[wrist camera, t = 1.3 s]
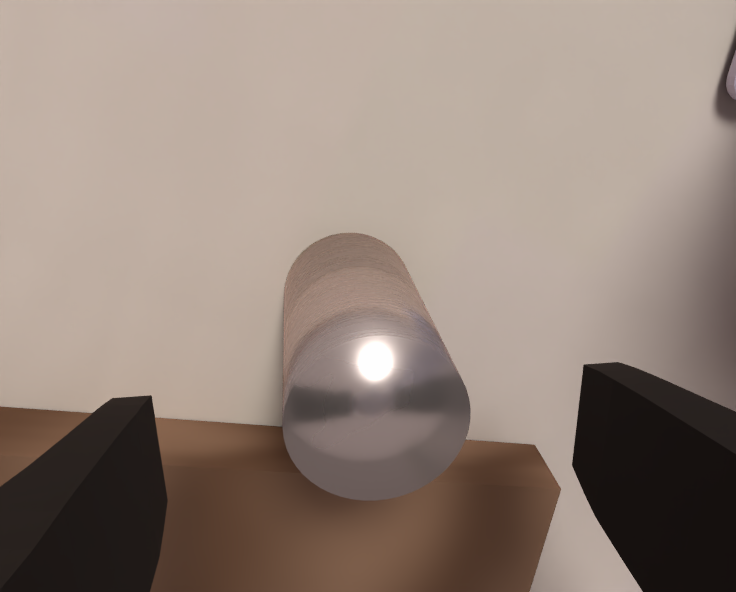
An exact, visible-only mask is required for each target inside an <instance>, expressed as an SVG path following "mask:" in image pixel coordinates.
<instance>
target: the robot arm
mask: <svg viewBox="0 0 736 592" xmlns="http://www.w3.org/2000/svg"><path fill="white" fill-rule="evenodd" d="M726 87H727V91H728V93H729V95H730V96H731V97H732V98H733V99H735V100H736V51H735V54H734V57H733V60H732V63H731V66H730V69H729V72H728V75H727V81H726ZM572 466H573V468H574V471H575V473H576V475H577V478H578V480H579V482H580V485H581V487H582V489H583V492H584V494H585V496H586V498H587V500H588V502H589V504H590V506H591V509H592V511H593V513H594V515H595V517H596V518H597V520H598V522H599V523H600V525H601V527H602V528H603V530H604V531H605V533H606V535H607V536H608V538H609V539H610V541H611V542H612V544H613V546H614V547H615V549H616V550H617V552H618V554H619V555H620V557H621V558H622V560H623V561H624V563H625V565H626V566H627V568H628V569H629V571H630V572H631V574H632V575H633V577H634V579H635V580H636V582H637V583H638V585H639V586H640V588H641V589H642V591H643V592H736V412H735V411H733V410H730V409H728V408H726V407H723V406H721V405H719V404H717V403H714V402H712V401H710V400H708V399H706V398H703V397H701V396H699V395H697V394H694V393H692V392H690V391H688V390H685V389H683V388H681V387H679V386H677V385H674V384H672V383H670V382H668V381H665V380H663V379H661V378H659V377H656V376H654V375H651V374H649V373H647V372H644V371H642V370H639V369H637V368H634V367H631V366H629V365H625V364H622V363H619V362H615V363H601V364H586V365H584V367H583V375H582V384H581V393H580V401H579V410H578V419H577V428H576V436H575V445H574V454H573V462H572ZM167 503H168V499H167V492H166V486H165V479H164V473H163V467H162V460H161V454H160V447H159V441H158V435H157V428H156V422H155V415H154V409H153V402H152V396H138V397H124V398H112V399H111V400H109V401H108V402H106V403H105V404H104V405H102V406H101V407H100V408H98V409H97V410H96V411H95V412H93V413H92V414H91V415H90V416H89V417H87V418H86V419H85V420H84V421H83V422H81V423H80V424H79V425H78V426H76V427H75V428H74V429H73V430H72V431H70V432H69V433H68V434H67V435H66V436H64V437H63V438H62V439H61V440H60V441H58V442H57V443H56V444H55V445H53V446H52V447H51V448H50V449H48V450H47V451H46V452H45V453H44V454H42V455H41V456H40V457H39V458H37V459H36V460H35V461H34V462H32V463H31V464H30V465H29V466H27V467H26V468H25V469H23V470H22V471H21V472H19V473H18V474H17V475H15V476H14V477H13V478H11V479H10V480H8V481H7V482H6V483H4V484H3V485H2V486H0V592H150V590H151V586H152V583H153V579H154V575H155V572H156V568H157V565H158V561H159V557H160V551H161V545H162V538H163V532H164V525H165V517H166V510H167Z"/></svg>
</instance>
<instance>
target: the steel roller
mask: <svg viewBox="0 0 736 592" xmlns="http://www.w3.org/2000/svg"><path fill="white" fill-rule="evenodd" d="M469 424H470V402H469V397H468V394H467V390H466V387H465V385H464V383H463V381H462V379H461V377H460V375H459V373H458V371H457V369H456V367H455V365H454V363H453V361H452V359H451V357H450V355H449V353H448V351H447V349H446V347H445V345H444V343H443V341H442V339H441V337H440V335H439V333H438V331H437V329H436V327H435V325H434V323H433V321H432V319H431V317H430V315H429V313H428V311H427V309H426V307H425V304H424V302H423V300H422V298H421V296H420V294H419V292H418V290H417V288H416V286H415V284H414V282H413V280H412V278H411V276H410V274H409V272H408V270H407V268H406V266H405V264H404V263H403V261H402V259H401V258H400V256H399V255H398V254H397V253H396V252H395V251H394V250H393V249H392V248H391V247H390V246H388V245H387V244H385V243H384V242H382V241H381V240H378V239H376V238H374V237H371V236H368V235H364V234H359V233H340V234H335V235H331V236H328V237H325V238H323V239H320V240H318V241H316V242H315V243H313V244H312V245H310V246H309V247H308V248H306V249H305V250H304V251H303V252H302V253H301V254H300V255H299V256H298V257H297V259H296V260H295V262H294V263H293V265H292V267H291V269H290V271H289V273H288V276H287V279H286V283H285V292H284V356H283V425H282V427H283V437H284V441H285V445H286V448H287V451H288V453H289V455H290V458H291V459H292V461H293V462H294V464H295V466H296V467H297V468H298V469H299V471H300V472H301V473H302V474H303V475H304V476H305V477H306V478H307V479H308V480H310V481H311V482H312V483H314V484H315V485H317V486H318V487H320V488H321V489H323V490H325V491H327V492H329V493H332V494H335V495H337V496H340V497H344V498H349V499H354V500H363V501H376V500H385V499H391V498H395V497H399V496H402V495H405V494H408V493H411V492H413V491H415V490H418V489H420V488H422V487H423V486H425V485H427V484H428V483H430V482H431V481H433V480H434V479H435V478H437V477H438V476H439V475H440V474H441V473H443V472H444V471H445V470H446V469H447V468H448V467H449V465H450V464H451V463H452V462H453V461H454V459H455V458H456V456H457V455H458V453H459V452H460V450H461V448H462V446H463V444H464V442H465V439H466V436H467V433H468V430H469Z"/></svg>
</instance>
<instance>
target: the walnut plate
mask: <svg viewBox="0 0 736 592" xmlns="http://www.w3.org/2000/svg"><path fill="white" fill-rule="evenodd" d="M91 414H92V413H80V412H66V411H52V410H38V409H24V408H10V407H0V486H2V485H3V484H4V483H6V482H7V481H8V480H10V479H11V478H13V477H14V476H15V475H17V474H18V473H19V472H21V471H22V470H23V469H25V468H26V467H27V466H29V465H30V464H31V463H32V462H34V461H35V460H36V459H37V458H39V457H40V456H41V455H42V454H44V453H45V452H46V451H47V450H48V449H50V448H51V447H52V446H53V445H55V444H56V443H57V442H58V441H60V440H61V439H62V438H63V437H64V436H66V435H67V434H68V433H69V432H70V431H72V430H73V429H74V428H75V427H76V426H78V425H79V424H80V423H81V422H83V421H84V420H85V419H86V418H87V417H89V416H90V415H91ZM155 422H156V428H157V435H158V441H159V447H160V454H161V460H162V467H163V473H164V479H165V486H166V492H167V499H168V503H167V510H166V517H165V525H164V532H163V538H162V545H161V551H160V557H159V561H158V565H157V568H156V572H155V575H154V579H153V583H152V586H151V590H150V592H529V591H530V588H531V585H532V582H533V578H534V575H535V572H536V569H537V565H538V562H539V559H540V556H541V552H542V549H543V546H544V543H545V539H546V536H547V533H548V530H549V526H550V523H551V520H552V517H553V514H554V510H555V507H556V504H557V501H558V497H559V494H560V491H561V488H560V486H559V485H558V483H557V481H556V480H555V478H554V476H553V475H552V473H551V471H550V470H549V468H548V466H547V465H546V463H545V461H544V460H543V458H542V456H541V455H540V453H539V451H538V450H537V448H536V446H535V445H530V444H516V443H502V442H487V441H473V440H465V442H464V444H463V446H462V448H461V450H460V452H459V453H458V455H457V456H456V458H455V459H454V461H453V462H452V463H451V464H450V465H449V467H448V468H447V469H446V470H445V471H444V472H443V473H441V474H440V475H439V476H438V477H437V478H435V479H434V480H433V481H431V482H430V483H428V484H427V485H425V486H423V487H422V488H420V489H418V490H415V491H413V492H411V493H408V494H405V495H402V496H399V497H395V498H391V499H385V500H376V501H363V500H354V499H349V498H344V497H340V496H337V495H335V494H332V493H329V492H327V491H325V490H323V489H321V488H320V487H318V486H317V485H315V484H314V483H312V482H311V481H310V480H308V479H307V478H306V477H305V476H304V475H303V474H302V473H301V472H300V471H299V469H298V468H297V467H296V466H295V464H294V462H293V461H292V459H291V458H290V455H289V453H288V451H287V448H286V445H285V441H284V437H283V427H277V426H263V425H249V424H235V423H221V422H207V421H193V420H179V419H165V418H155Z"/></svg>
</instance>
